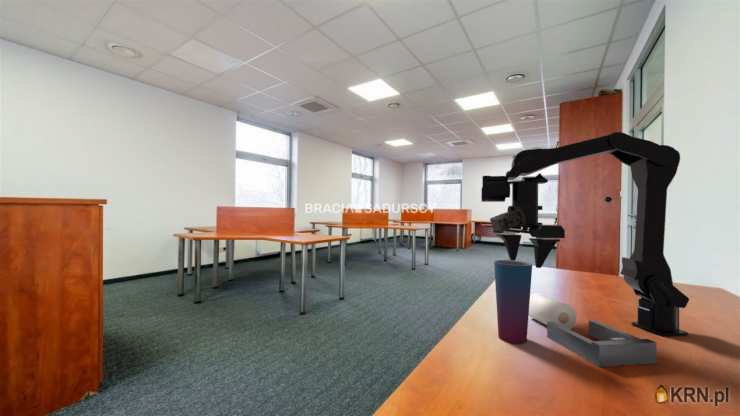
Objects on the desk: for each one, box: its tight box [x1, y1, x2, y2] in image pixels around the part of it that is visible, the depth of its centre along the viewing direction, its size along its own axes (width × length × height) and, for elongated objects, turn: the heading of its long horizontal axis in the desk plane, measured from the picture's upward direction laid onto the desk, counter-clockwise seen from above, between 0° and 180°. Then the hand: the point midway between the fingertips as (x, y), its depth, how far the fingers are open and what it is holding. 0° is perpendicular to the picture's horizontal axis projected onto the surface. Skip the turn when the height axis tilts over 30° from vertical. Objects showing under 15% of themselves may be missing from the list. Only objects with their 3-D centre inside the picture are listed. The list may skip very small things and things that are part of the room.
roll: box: [528, 292, 577, 331], centre depth 65 cm, size 8×6×6 cm
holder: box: [546, 319, 658, 368], centre depth 53 cm, size 11×11×4 cm
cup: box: [493, 259, 533, 345], centre depth 57 cm, size 7×7×15 cm
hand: (524, 264), depth 72 cm, fingers open, 9 cm apart
